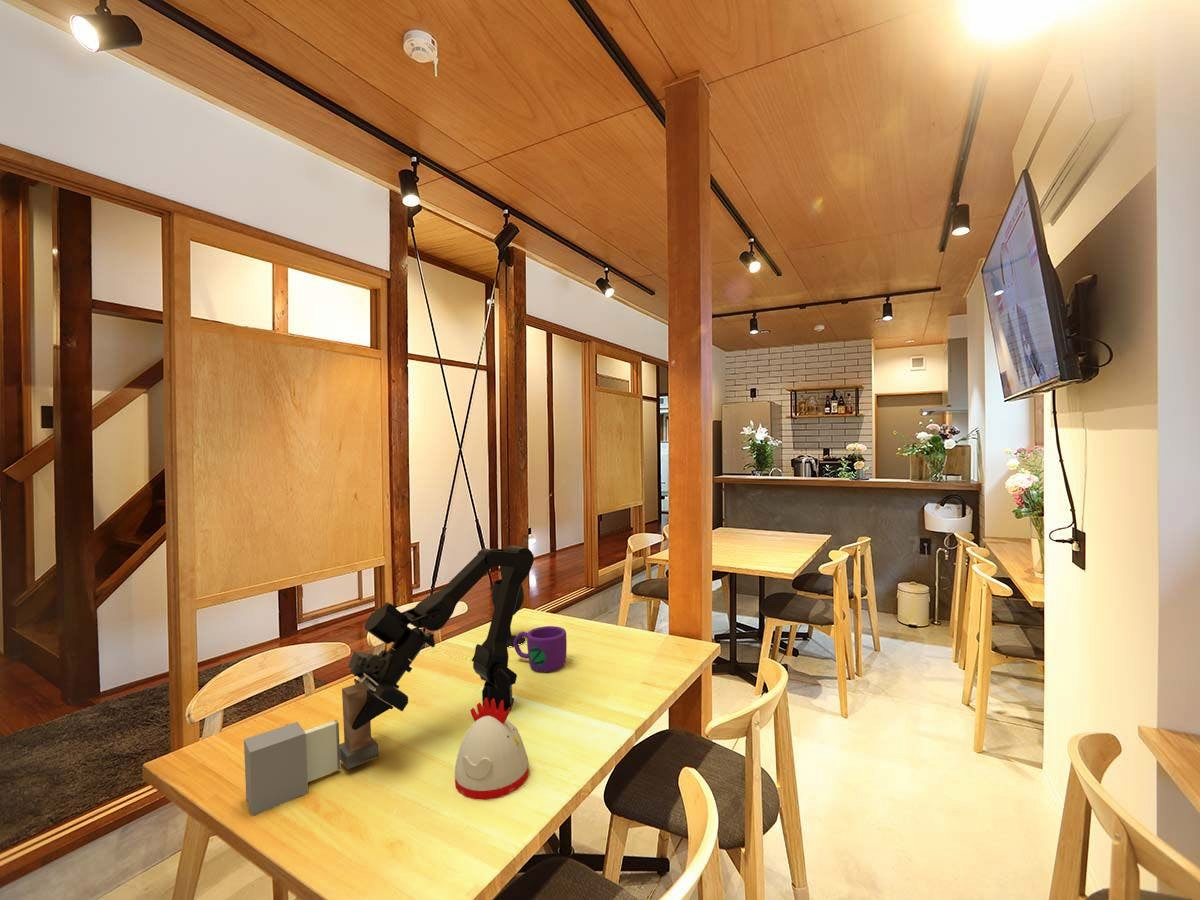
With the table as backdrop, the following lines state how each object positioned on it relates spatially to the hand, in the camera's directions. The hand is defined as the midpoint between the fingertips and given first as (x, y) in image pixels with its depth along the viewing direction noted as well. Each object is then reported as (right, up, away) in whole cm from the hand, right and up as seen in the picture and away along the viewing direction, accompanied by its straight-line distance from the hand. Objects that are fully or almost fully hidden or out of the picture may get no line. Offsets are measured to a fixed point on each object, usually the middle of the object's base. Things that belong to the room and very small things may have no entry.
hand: (349, 725), depth 108 cm
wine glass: (+21, -8, +68) cm, 72 cm away
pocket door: (-4, -8, -4) cm, 10 cm away
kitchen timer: (+30, -8, -5) cm, 31 cm away
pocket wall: (-9, -9, -9) cm, 16 cm away
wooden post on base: (+1, -7, +1) cm, 7 cm away
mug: (+33, -7, +48) cm, 59 cm away
